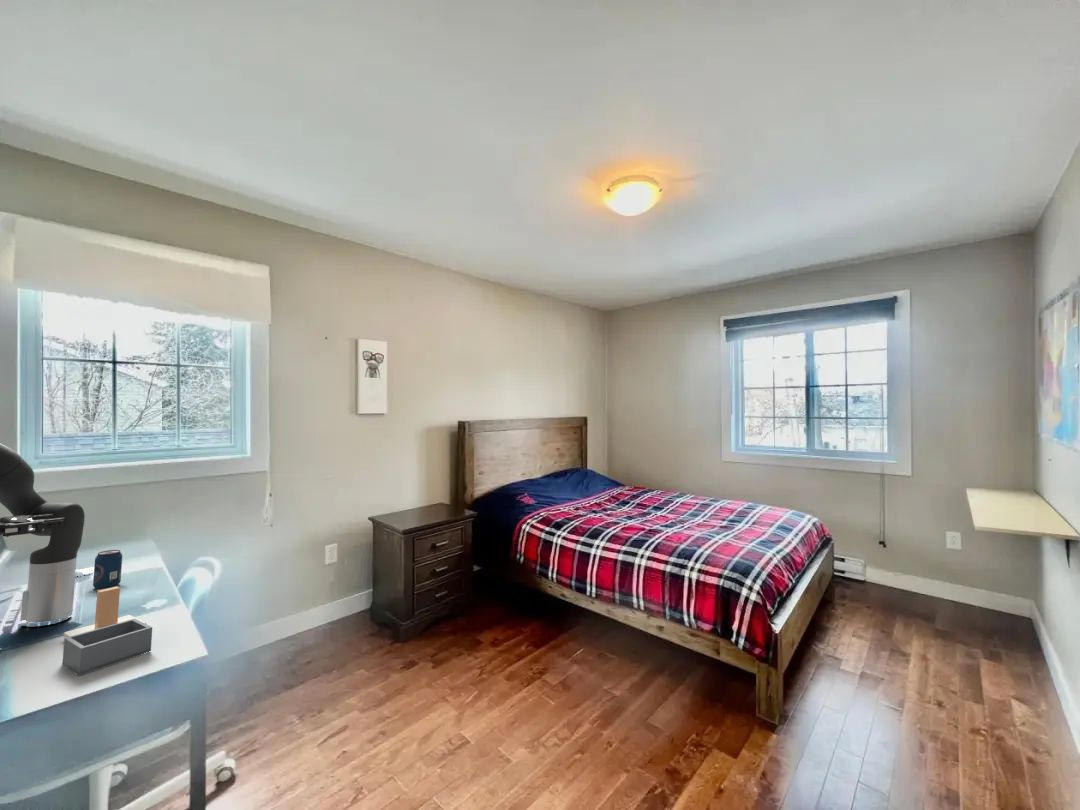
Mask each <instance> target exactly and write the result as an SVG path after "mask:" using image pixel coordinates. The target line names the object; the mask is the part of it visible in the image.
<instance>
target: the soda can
mask: <svg viewBox="0 0 1080 810" xmlns="http://www.w3.org/2000/svg"><path fill="white" fill-rule="evenodd" d="M93 567H94V575H93V580H92V581H93V582H92V586H93V588H94V589H95V590H96V589H97V590H96V591H99V590H103V589H108V588H112V587H119V584H121V581H122V567H123V553H122V552H121V549H109V550H104V551H100V552H98V553H97V555H96V557H95V559H94V566H93Z"/></svg>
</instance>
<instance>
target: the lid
mask: <svg viewBox="0 0 1080 810" xmlns="http://www.w3.org/2000/svg"><path fill="white" fill-rule="evenodd" d="M120 592H121V587H120V586H116V587H112V588H108V589H103V590H96V603H95V604H96V606H95V619H94V624H90V625H87V626H82V627H78V628H76V629H72V630H68V631H65V632H63V637H64V638H66V637H70V636H74V635H77V634H81V633H84V632H88V631H92V630H95V629H99V628H102V627H106V626H110V625H113V624H117V623H120V622H124V621H127V620H131V619H136V620H139V621H141V622H143V623H145V624H147V622H145V621H144V620H141V619H140V618H137V617H135V616H133V615H131V614H127V615H123V616H120V617H119V609H120V608H119V606H120V594H121V593H120Z"/></svg>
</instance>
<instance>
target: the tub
mask: <svg viewBox="0 0 1080 810" xmlns="http://www.w3.org/2000/svg"><path fill="white" fill-rule="evenodd" d="M139 620H140V619H139ZM139 620H136V619H131V620H127V621H124V622H120V623H117V624H113V625H110V626H106V627H102V628H99V629H95V630H92V631H88V632H84V633H81V634H77V635H74V636H70V637H66V638H65V637H64V639H63V652H62V666H64V667H65V668H66V669H68V670H70V671H71V672H72V673H74V674H75V675H77V676H78V677H80V676H83V675H86V674H91V673H93V672H95V671H99V670H101V669H105V668H107V667H110V665H111V666H113V664H114V665H117V664H119V662H120V663H122V662H125V661H128V660H131V659H133V657H134V658H137V657H139V655H140V656H142V655H141V654H143V655H145V654H144V653H146V652H149V651H152V639H153V638H152V637H153V626H151V625H148V624H147V623H146V624H145V623H143V622H141V621H139ZM149 653H150V652H149ZM146 654H147V653H146ZM136 656H137V657H136ZM130 658H131V659H130ZM127 659H128V660H127ZM124 660H125V661H124ZM116 663H117V664H116ZM104 667H105V668H104Z"/></svg>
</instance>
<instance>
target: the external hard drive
mask: <svg viewBox="0 0 1080 810" xmlns="http://www.w3.org/2000/svg"><path fill="white" fill-rule="evenodd" d="M76 571H78V572H82V573H83V574H93V573H94V566H91V567H87V568H82V569H81V568H80V569H76Z"/></svg>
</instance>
